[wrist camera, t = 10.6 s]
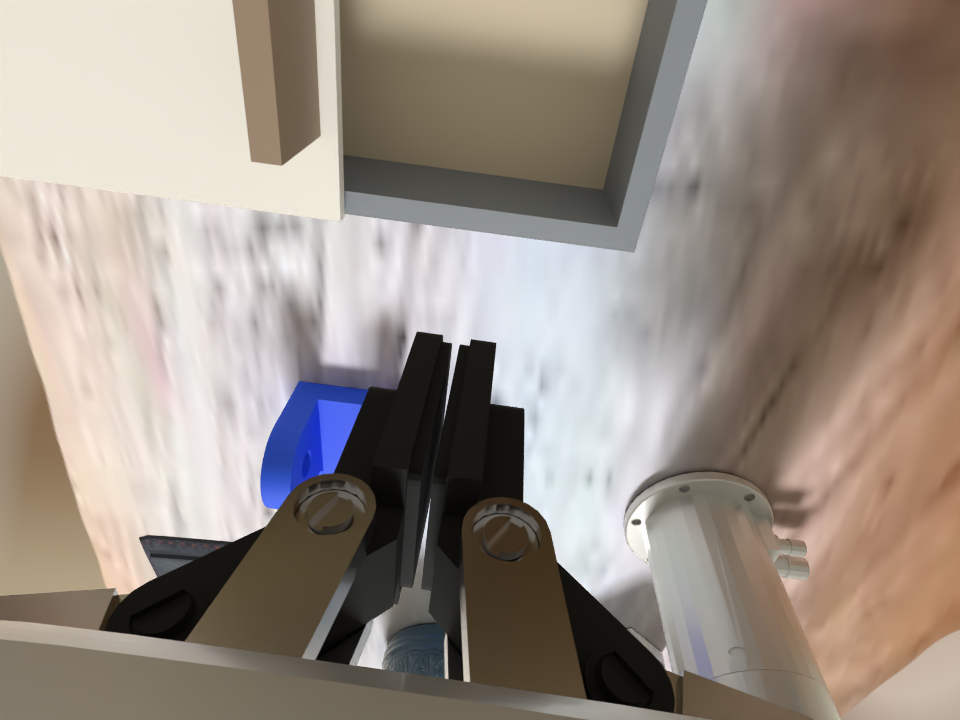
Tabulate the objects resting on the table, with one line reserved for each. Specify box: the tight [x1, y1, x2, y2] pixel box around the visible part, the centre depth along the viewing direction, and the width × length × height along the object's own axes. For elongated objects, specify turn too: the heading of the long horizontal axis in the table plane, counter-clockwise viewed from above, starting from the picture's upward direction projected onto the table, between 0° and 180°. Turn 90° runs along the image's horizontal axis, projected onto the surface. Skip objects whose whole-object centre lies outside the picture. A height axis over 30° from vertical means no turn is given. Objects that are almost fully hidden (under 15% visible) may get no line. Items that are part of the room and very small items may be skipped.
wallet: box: [139, 536, 232, 577], centre depth 62 cm, size 20×2×15 cm
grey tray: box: [339, 0, 707, 252], centre depth 28 cm, size 22×14×7 cm, turn 84°
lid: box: [0, 0, 345, 221], centre depth 22 cm, size 22×14×6 cm, turn 84°
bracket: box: [260, 381, 368, 509], centre depth 46 cm, size 18×8×9 cm, turn 174°
